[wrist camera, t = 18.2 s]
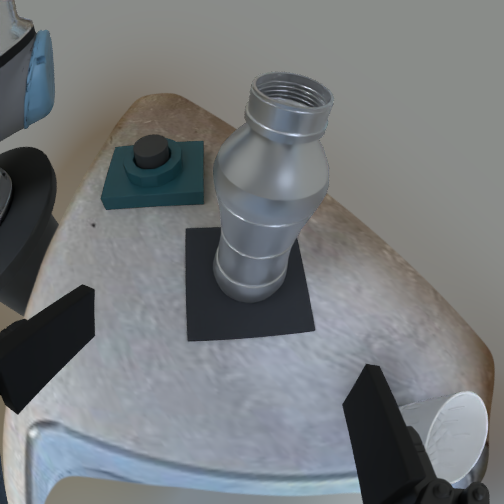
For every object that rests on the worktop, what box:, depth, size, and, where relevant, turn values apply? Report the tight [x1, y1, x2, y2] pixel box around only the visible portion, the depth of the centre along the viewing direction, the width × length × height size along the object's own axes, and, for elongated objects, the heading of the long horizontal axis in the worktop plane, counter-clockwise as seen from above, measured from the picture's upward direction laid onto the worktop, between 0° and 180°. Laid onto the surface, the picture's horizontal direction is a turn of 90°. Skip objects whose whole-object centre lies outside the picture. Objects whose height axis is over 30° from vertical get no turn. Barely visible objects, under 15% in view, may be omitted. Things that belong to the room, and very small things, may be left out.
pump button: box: [133, 135, 169, 169], centre depth 30 cm, size 4×4×2 cm
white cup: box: [398, 391, 488, 484], centre depth 17 cm, size 8×8×10 cm
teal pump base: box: [101, 138, 204, 210], centre depth 32 cm, size 12×9×4 cm
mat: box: [186, 227, 315, 341], centre depth 28 cm, size 12×12×1 cm
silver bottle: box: [213, 72, 334, 303], centre depth 20 cm, size 6×7×20 cm
